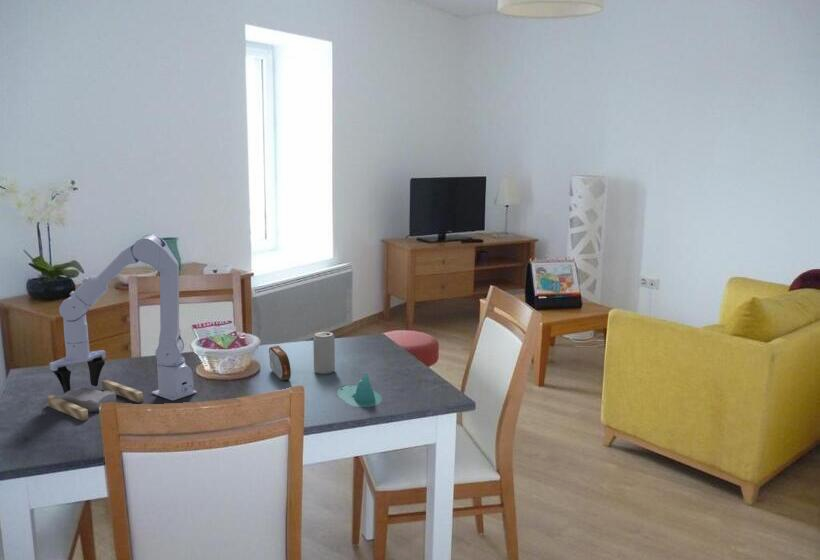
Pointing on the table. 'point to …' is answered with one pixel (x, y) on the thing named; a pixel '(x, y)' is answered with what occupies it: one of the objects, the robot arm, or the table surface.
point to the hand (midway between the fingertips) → (81, 389)
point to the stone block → (89, 398)
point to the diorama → (360, 394)
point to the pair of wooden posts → (82, 412)
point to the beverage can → (324, 352)
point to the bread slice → (279, 363)
